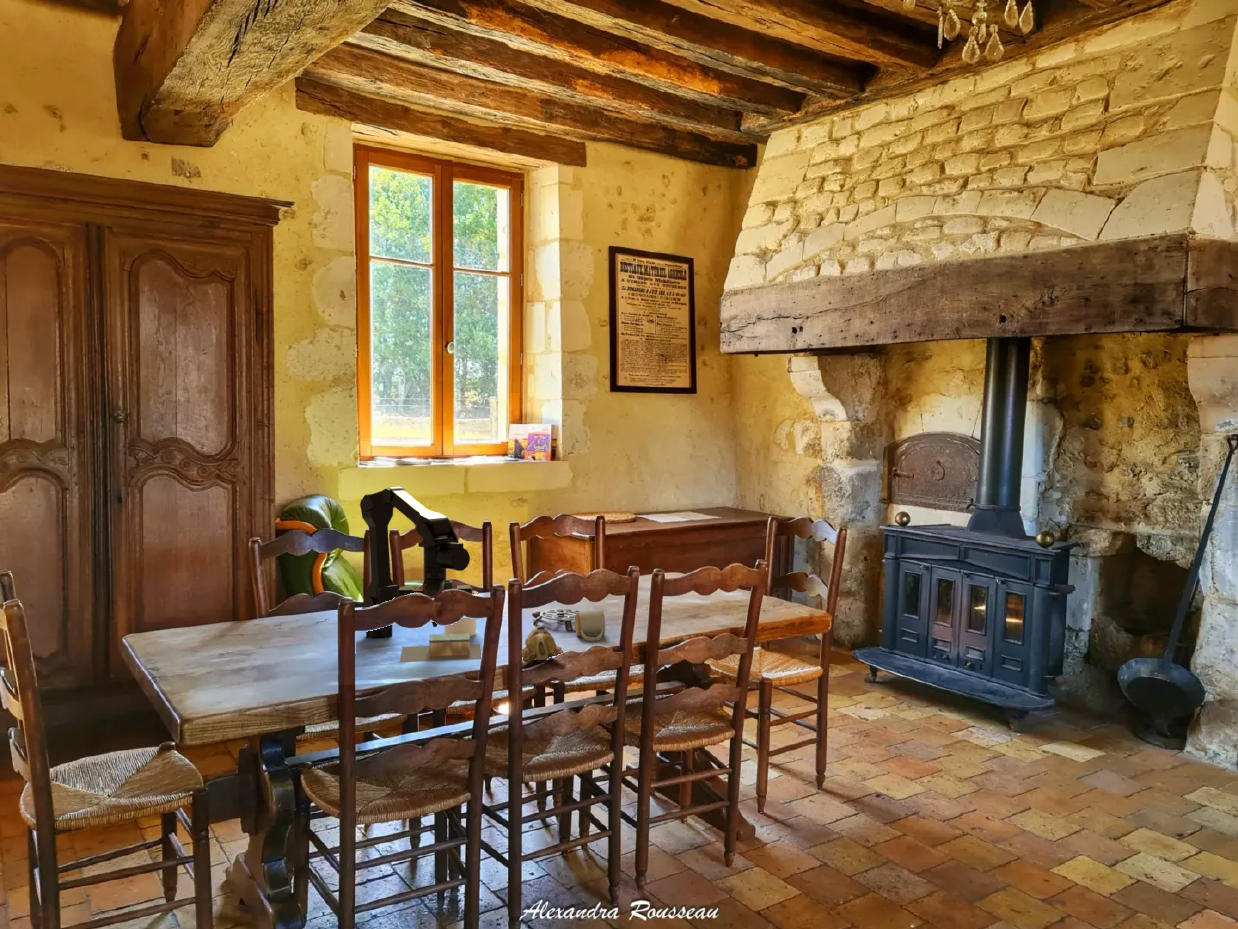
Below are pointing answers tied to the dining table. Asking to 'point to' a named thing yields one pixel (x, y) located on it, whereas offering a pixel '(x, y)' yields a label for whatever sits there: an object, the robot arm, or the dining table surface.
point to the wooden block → (449, 644)
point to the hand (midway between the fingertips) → (435, 626)
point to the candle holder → (462, 625)
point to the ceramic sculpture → (540, 645)
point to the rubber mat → (423, 655)
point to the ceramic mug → (590, 624)
